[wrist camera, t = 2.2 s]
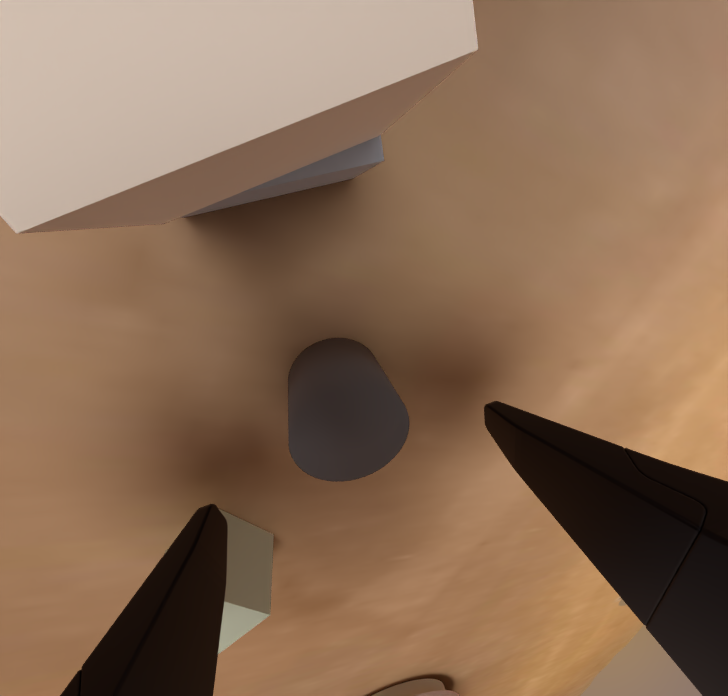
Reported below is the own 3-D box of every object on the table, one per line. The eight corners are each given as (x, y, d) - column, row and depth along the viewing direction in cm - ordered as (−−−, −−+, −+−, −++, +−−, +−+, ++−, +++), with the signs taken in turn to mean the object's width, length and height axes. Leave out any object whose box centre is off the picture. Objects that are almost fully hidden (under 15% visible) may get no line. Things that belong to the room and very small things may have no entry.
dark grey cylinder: (368, 325, 13) (398, 366, 9) (386, 400, 15) (416, 456, 11) (273, 355, 12) (268, 409, 9) (305, 428, 14) (311, 496, 11)
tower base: (302, -70, 8) (314, -306, 4) (352, 179, 11) (384, 160, 7) (67, -42, 7) (-151, -297, 4) (186, 217, 10) (128, 217, 6)
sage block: (218, 506, 15) (197, 593, 12) (273, 532, 17) (270, 615, 14) (166, 549, 16) (130, 646, 12) (225, 570, 18) (210, 660, 14)
